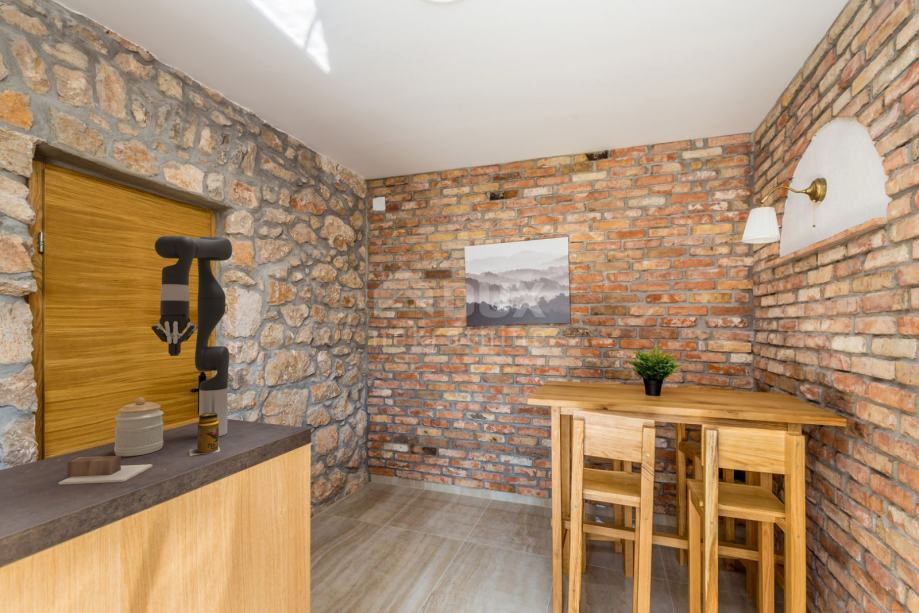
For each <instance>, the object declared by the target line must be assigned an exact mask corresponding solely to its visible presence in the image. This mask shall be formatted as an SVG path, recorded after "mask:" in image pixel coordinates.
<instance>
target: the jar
mask: <svg viewBox="0 0 919 613" xmlns="http://www.w3.org/2000/svg"><path fill="white" fill-rule="evenodd" d="M161 406H162V405H161V404H159V403H156V402H154V401H146V399H145V398H144V397H141V396H140V397H137V398H136V399H135V401H134V403H130V404H129V403H128V404H126V405H123V406H122V407H121V408H118V410H117V411H118V415H116V416H115V417H114V420H115V421H116V426H115V427H114V447H113V448H114V449H113V450H114V454H115V455H114V456H121V457H135V456H142V455H147V454H148V455H149V454H150V453H154V452H157V451H159V450H161V449H162V448H163V445H164V438H163V437H164V436H163V435H164V434H163V433H164V421H163V417H162V416H163V415H164V414H165V413H164V412H165V411H162V410H160V408H161Z"/></svg>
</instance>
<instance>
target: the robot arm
mask: <svg viewBox="0 0 919 613" xmlns="http://www.w3.org/2000/svg"><path fill="white" fill-rule="evenodd" d="M154 250H155V252H156V254H157V255H158V256H159V257H160V258H163V259H167V260H168V259H170V260H174V259H175V260H176V259H177V262H175V263H174V264H172V265H171V264H170V265H166V266H163V268H162V269H161V289H160V294H159V295H160V297H159V300H160V301H159V302H160V308H159V309H160V310H159V311H160V312H159V313H160V314H159V315H160V318H159V321H158V323H157V324H155V325H152V326H151V327H150V328H151V331H153V332H154V334H155V336H157V337H158V338H159V341H161V342H162V343H166V344H167V345H168V348H167V352H168V355H169V356H170V357H178V356H180V354H181V351H182V350H181V349H182V344H183V343H184V342H187V341H188V340H189V339H191V337H192V336H193V335H194V333H195V332H196V331H197V333H196V342H195V343H196V344H195V351H194V364H195V369H196V370H197V371H199V372H212V371H213V372H216V373H215V374H216V375H214V376H212V377H211V378H209V379H206V380H203V381H201V382H199V393H198V394H199V395H198V396H199V401H198V402H199V406H198V407H199V410H198V413H199V414H198V415H199V416H200V415H201V414H205V413H217V415H218V417H217V418H218V419H217V421H218V422H219V437H222V436H225V435H226V434H228V403H229V402H228V397H229V396H228V391H229V388H228V387H229V386H228V384H229V367H230V366H229V365H230V351H229V348H228V347H227V346H223V345H221V346H220V345H218V346H217V345H215V346H209V340H210V337H211V334H212V332H213V331H214V329H215V328H216V326H217V325H218V324H219V323H220V321H221V319H222V318H223V317H224V315H225V313H226V294H225V290H224V289H223V287H222V286H221V285H220V283H219V282H218V280H217V278H216V277H215V275H214V273H213V271H212V267H211V261H212V262H219V261H220V262H221V261H222V262H224V261H228V260H230V259H231V257H232V255H233V245H232V243H231V241H230V239H228V238H227V237H224V236H200V237H191V236H187V235H162V236H160V237H158V238H157V239H156V241H155V242H154ZM194 259H196V260H197V274H198V276H197V277H198V283H197V284H198V285H197V286H198V287H197V289H198V290H197V306H196V307H197V324H194V323H192V322H191V319H190V298H191V296H190V271H191V267H192V264H193V260H194ZM199 416H198V417H199Z"/></svg>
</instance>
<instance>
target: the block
mask: <svg viewBox="0 0 919 613" xmlns="http://www.w3.org/2000/svg"><path fill="white" fill-rule="evenodd" d="M121 466H122V456H116V455H103V456H101V455H100V456H79V457H77V458H74V459H71V460H68V461H67V469H66V470H67V471H66V472H67V473H66V477H67V478H70V477H73V476H99V475H111V474H114V473H116V472H118V471H120V470H121Z"/></svg>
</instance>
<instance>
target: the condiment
mask: <svg viewBox="0 0 919 613" xmlns="http://www.w3.org/2000/svg"><path fill="white" fill-rule="evenodd" d="M217 417H218V415H217V413H205V414H201V415H200V416H198V423H197V435H196V436H197V438H196V439H197V441H196V442H197V444H196V448H191V449H189V457H191V456H197V455H205V454H214V453H219V452H221V449H220V446H219V444H220V442H219V441H220V440H219V439H220V438H219V437H220V436H219V422H218V421H217V419H218V418H217Z"/></svg>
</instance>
